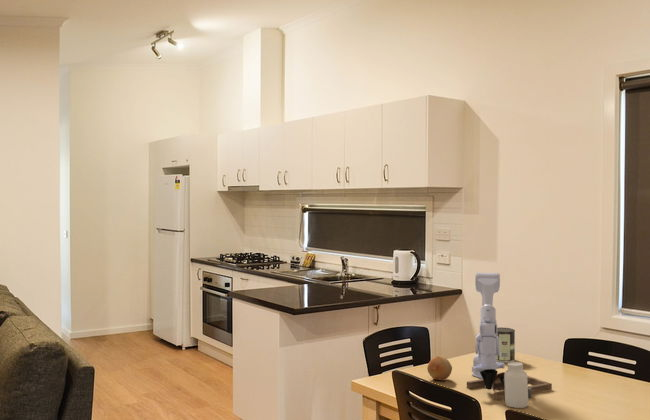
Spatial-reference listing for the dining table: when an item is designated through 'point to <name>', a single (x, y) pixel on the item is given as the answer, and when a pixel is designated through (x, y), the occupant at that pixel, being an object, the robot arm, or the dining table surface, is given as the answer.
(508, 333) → the coffee can
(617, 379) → the dining table surface
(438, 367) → the onion
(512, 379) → the pill bottle
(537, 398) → the dining table surface
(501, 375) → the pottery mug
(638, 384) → the dining table surface
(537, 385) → the walnut slot beam
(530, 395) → the block
